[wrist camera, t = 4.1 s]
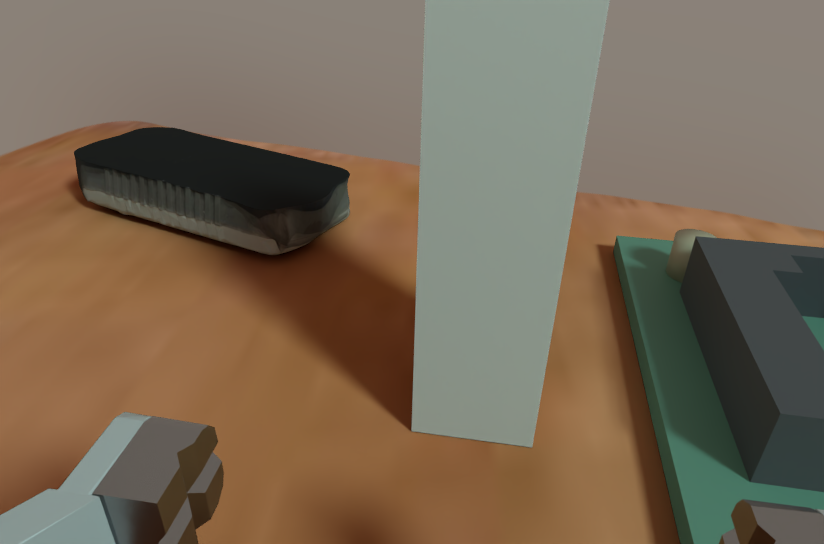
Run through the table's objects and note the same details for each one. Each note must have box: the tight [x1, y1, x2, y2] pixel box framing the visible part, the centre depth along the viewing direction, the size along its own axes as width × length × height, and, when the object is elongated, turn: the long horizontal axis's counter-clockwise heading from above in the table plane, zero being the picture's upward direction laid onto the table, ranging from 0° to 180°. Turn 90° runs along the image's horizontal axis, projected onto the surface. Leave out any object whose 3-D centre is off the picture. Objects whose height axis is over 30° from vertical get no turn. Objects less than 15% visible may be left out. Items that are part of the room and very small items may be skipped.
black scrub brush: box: [74, 127, 350, 255], centre depth 38 cm, size 16×8×4 cm, turn 63°
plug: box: [412, 0, 610, 447], centre depth 20 cm, size 5×4×18 cm
